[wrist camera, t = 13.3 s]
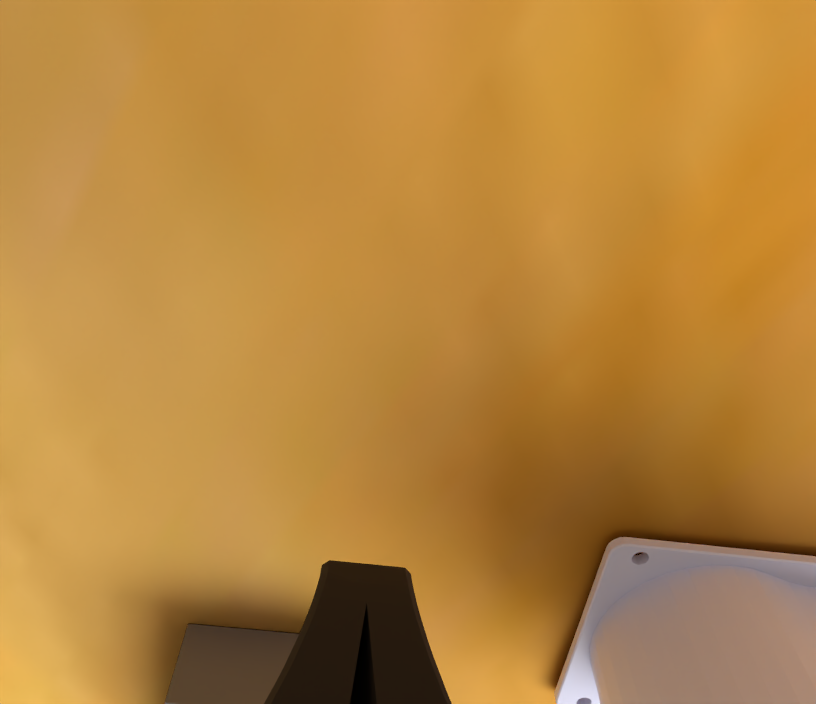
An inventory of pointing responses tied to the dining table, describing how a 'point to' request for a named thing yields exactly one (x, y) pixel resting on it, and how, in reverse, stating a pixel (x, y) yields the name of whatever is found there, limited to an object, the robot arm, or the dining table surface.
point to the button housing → (228, 665)
